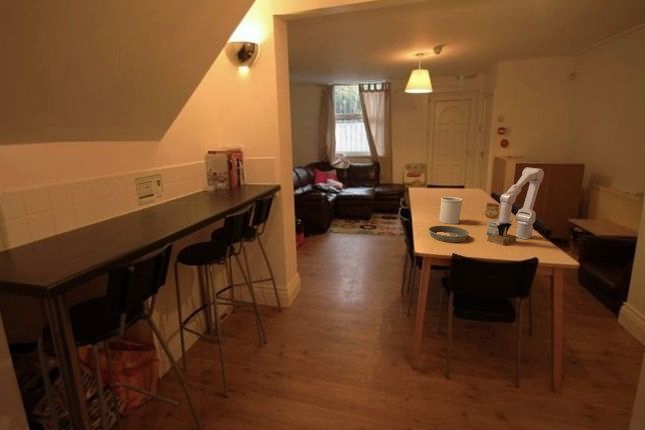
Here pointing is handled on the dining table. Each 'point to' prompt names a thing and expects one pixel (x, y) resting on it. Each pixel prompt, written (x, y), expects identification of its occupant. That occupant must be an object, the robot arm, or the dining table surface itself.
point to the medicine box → (492, 228)
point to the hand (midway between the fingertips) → (502, 235)
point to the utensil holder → (450, 210)
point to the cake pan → (451, 230)
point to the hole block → (502, 239)
